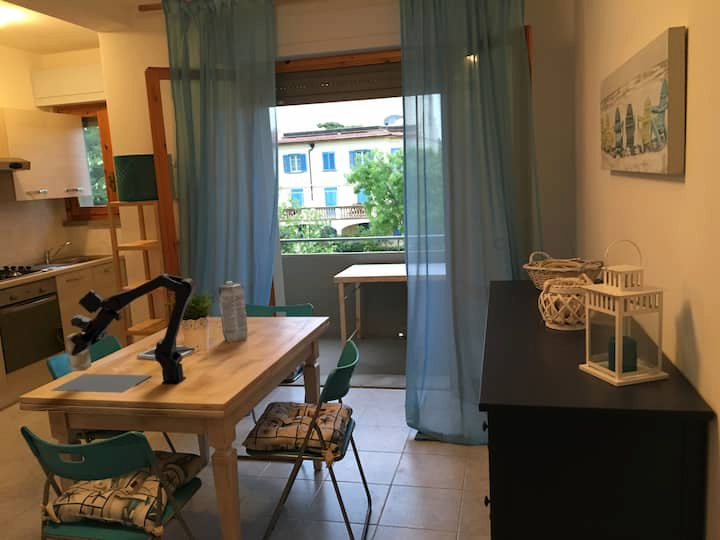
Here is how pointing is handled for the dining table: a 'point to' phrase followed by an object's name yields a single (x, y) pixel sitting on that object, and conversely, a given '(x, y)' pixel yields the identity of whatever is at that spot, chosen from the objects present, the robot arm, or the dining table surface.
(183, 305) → the robot arm
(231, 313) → the juice carton
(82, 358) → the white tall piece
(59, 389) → the rubber mat
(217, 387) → the dining table surface
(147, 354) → the picture frame
